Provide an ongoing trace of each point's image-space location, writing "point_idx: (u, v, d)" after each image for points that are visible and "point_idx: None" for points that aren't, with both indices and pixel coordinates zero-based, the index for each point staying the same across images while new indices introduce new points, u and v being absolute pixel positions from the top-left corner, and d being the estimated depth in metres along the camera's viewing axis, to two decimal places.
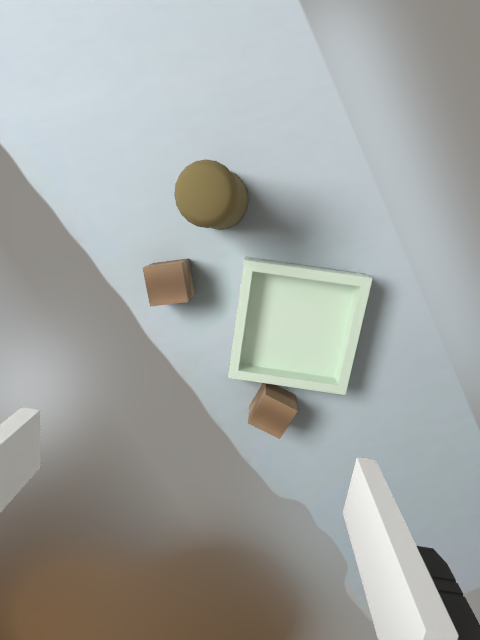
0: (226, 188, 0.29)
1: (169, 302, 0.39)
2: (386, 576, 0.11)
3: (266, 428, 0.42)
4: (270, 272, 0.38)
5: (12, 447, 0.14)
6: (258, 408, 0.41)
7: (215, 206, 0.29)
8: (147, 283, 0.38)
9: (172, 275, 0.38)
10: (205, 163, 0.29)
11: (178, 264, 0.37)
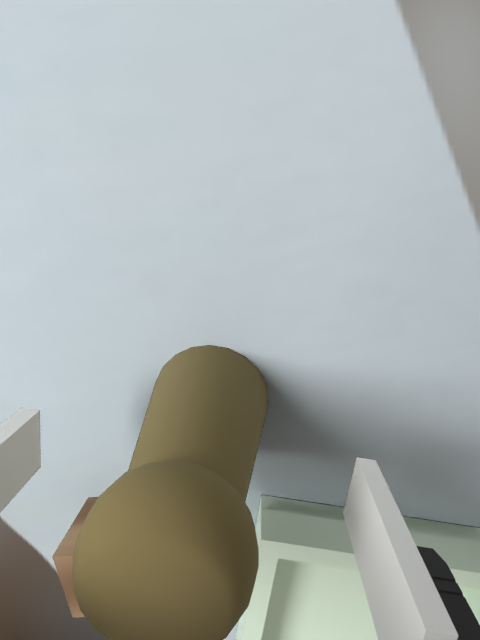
0: (222, 599, 0.09)
1: None
2: (386, 576, 0.11)
3: None
4: (315, 562, 0.19)
5: (12, 447, 0.14)
6: None
7: None
8: (64, 582, 0.19)
9: None
10: (156, 525, 0.09)
11: None
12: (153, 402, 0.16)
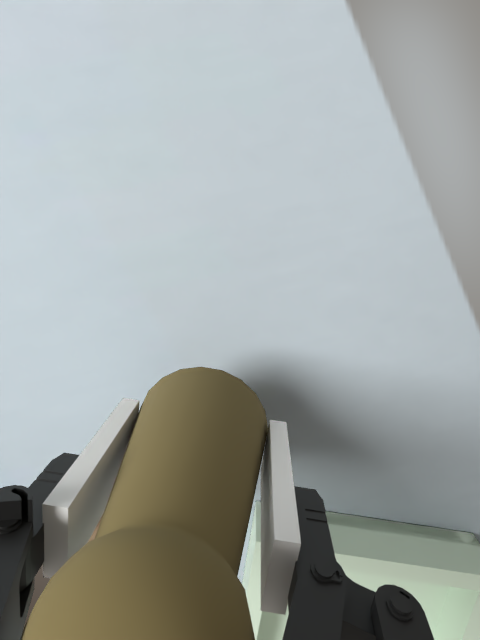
0: None
1: None
2: (268, 509, 0.13)
3: None
4: None
5: (125, 432, 0.15)
6: None
7: None
8: None
9: None
10: (117, 633, 0.07)
11: None
12: (134, 437, 0.14)
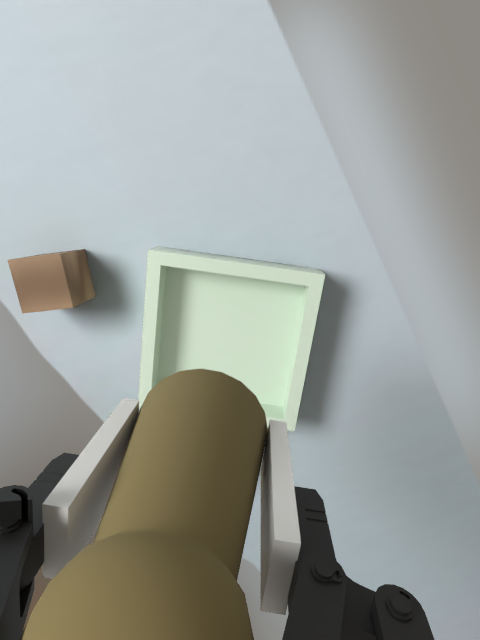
0: None
1: (48, 308, 0.28)
2: (268, 509, 0.13)
3: None
4: (185, 266, 0.28)
5: (125, 432, 0.15)
6: None
7: None
8: (16, 282, 0.28)
9: (48, 270, 0.27)
10: (115, 639, 0.07)
11: (56, 255, 0.27)
12: (133, 439, 0.14)
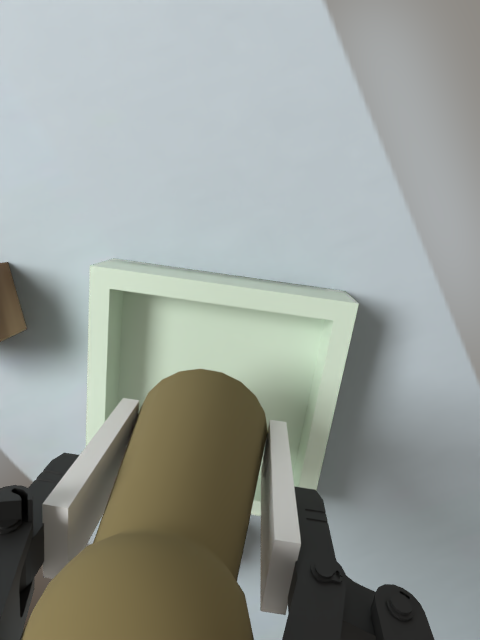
0: None
1: None
2: (268, 509, 0.13)
3: None
4: (146, 291, 0.18)
5: (125, 432, 0.15)
6: None
7: None
8: None
9: None
10: (115, 639, 0.07)
11: None
12: (133, 439, 0.14)
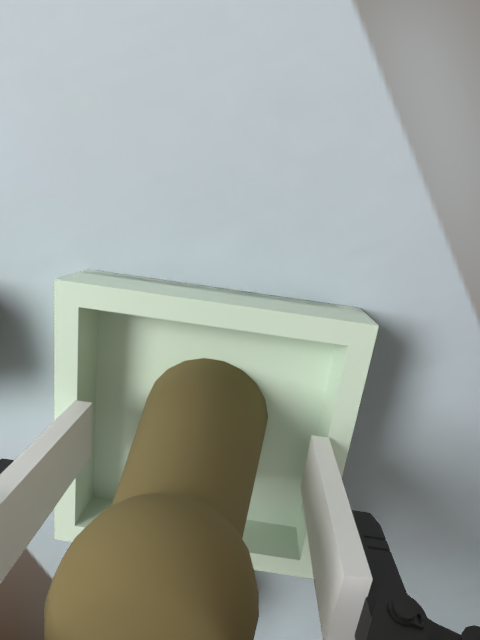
0: None
1: None
2: (323, 536, 0.12)
3: None
4: (122, 310, 0.15)
5: (72, 436, 0.15)
6: None
7: None
8: None
9: None
10: (138, 576, 0.08)
11: None
12: (143, 422, 0.15)
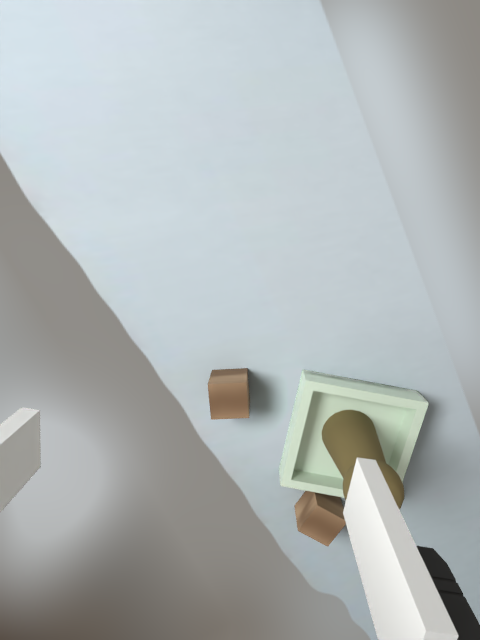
0: (399, 498, 0.32)
1: (230, 417, 0.39)
2: (386, 576, 0.11)
3: (315, 536, 0.43)
4: (330, 392, 0.39)
5: (12, 447, 0.14)
6: (309, 517, 0.42)
7: None
8: (211, 399, 0.39)
9: (236, 392, 0.39)
10: None
11: (243, 383, 0.38)
12: (338, 436, 0.39)
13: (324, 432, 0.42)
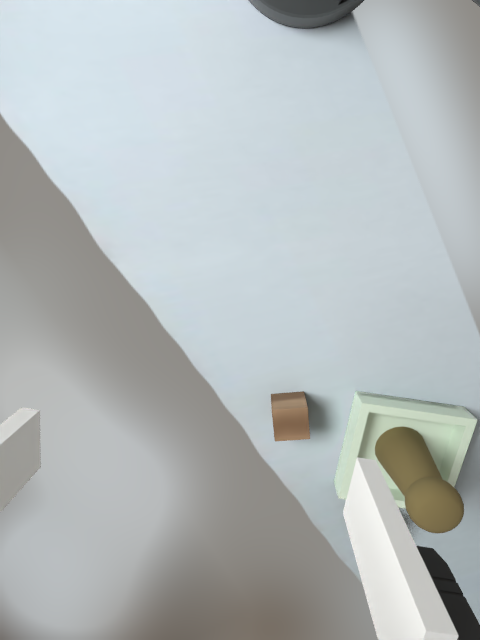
0: (460, 513, 0.35)
1: (292, 438, 0.43)
2: (386, 576, 0.11)
3: None
4: (385, 413, 0.42)
5: (12, 447, 0.14)
6: None
7: (449, 526, 0.35)
8: (274, 423, 0.43)
9: (298, 416, 0.42)
10: (443, 494, 0.35)
11: (304, 408, 0.42)
12: (394, 453, 0.42)
13: (378, 448, 0.45)
